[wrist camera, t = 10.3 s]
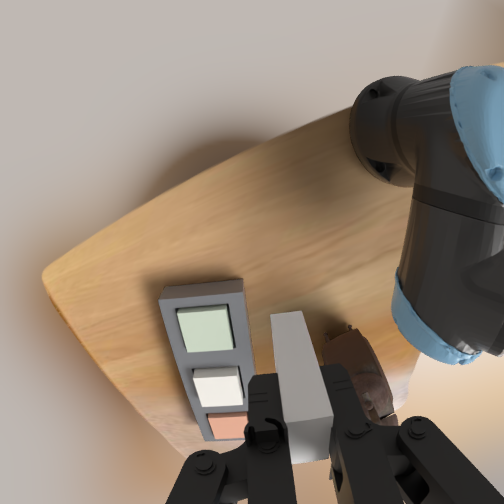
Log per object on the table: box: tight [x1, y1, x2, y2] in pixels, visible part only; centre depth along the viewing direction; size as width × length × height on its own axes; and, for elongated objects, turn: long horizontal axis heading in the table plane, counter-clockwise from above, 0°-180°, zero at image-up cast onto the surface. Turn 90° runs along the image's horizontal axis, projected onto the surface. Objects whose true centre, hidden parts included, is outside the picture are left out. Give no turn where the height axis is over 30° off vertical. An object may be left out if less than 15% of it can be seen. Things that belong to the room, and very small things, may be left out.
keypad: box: [158, 279, 257, 441], centre depth 46 cm, size 11×31×4 cm, turn 6°
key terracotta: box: [208, 411, 248, 439], centre depth 48 cm, size 6×6×3 cm
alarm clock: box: [322, 325, 398, 426], centre depth 38 cm, size 15×7×20 cm, turn 28°
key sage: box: [177, 303, 234, 352], centre depth 41 cm, size 6×6×3 cm
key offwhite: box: [193, 366, 243, 407], centre depth 44 cm, size 6×6×3 cm
